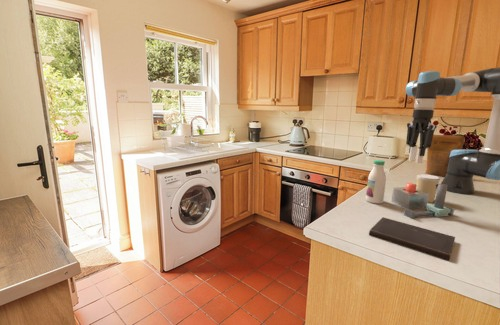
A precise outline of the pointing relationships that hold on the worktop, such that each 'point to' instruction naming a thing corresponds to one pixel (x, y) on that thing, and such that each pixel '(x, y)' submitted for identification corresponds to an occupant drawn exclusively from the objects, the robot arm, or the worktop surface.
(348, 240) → the worktop surface
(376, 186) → the milk bottle
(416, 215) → the rail
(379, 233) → the hardcover book
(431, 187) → the coffee cup
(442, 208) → the carriage
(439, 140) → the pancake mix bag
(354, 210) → the worktop surface
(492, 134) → the robot arm
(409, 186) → the button
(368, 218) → the worktop surface
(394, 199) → the grey block with hole
